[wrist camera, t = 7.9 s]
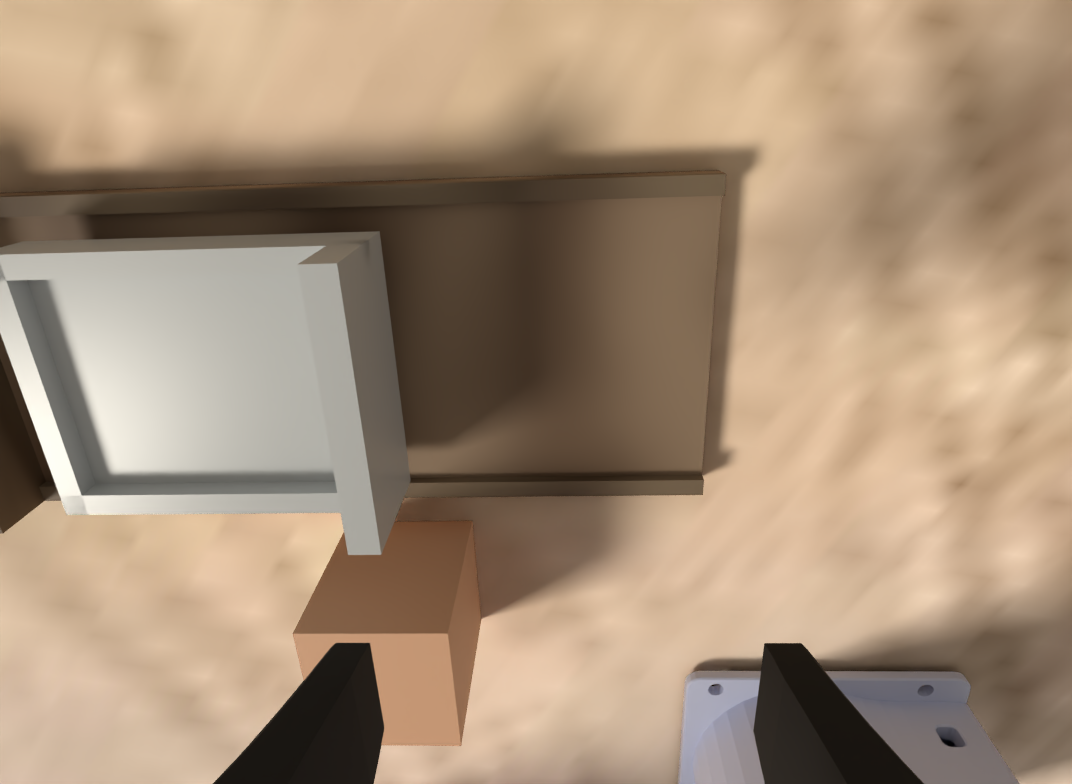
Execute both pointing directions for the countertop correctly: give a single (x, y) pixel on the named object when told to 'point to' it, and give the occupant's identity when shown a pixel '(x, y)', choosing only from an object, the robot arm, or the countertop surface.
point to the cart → (212, 375)
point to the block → (405, 625)
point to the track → (474, 318)
